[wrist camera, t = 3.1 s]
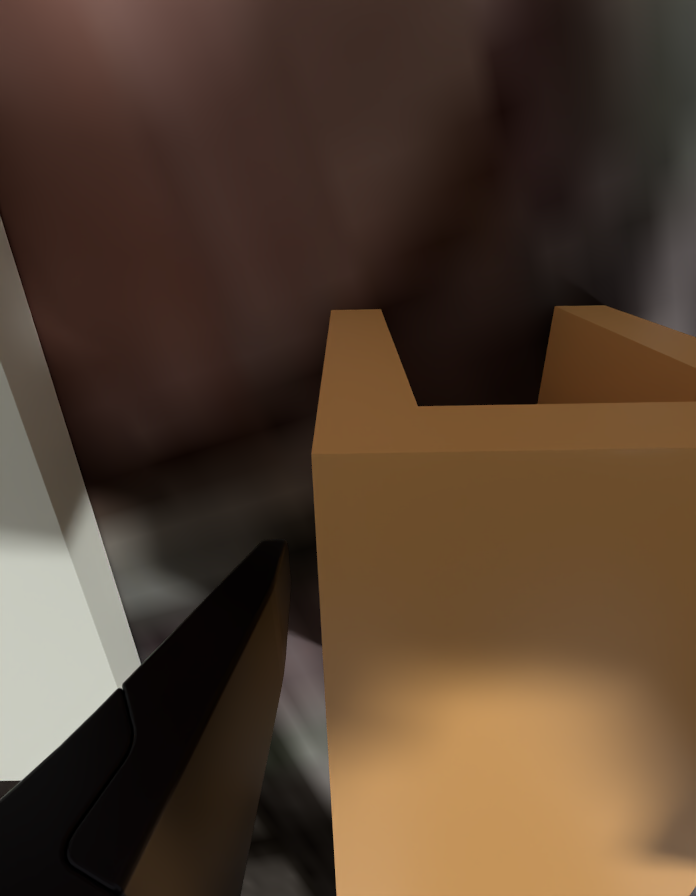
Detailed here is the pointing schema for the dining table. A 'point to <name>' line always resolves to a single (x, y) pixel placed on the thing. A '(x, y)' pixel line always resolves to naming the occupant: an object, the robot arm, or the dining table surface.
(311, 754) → the dining table surface
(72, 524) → the board
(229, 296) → the dining table surface
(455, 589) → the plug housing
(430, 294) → the dining table surface
